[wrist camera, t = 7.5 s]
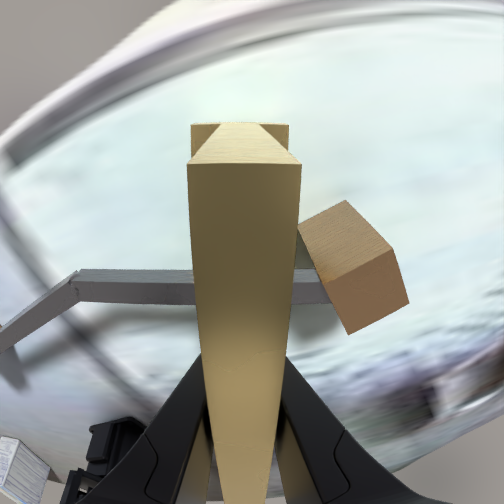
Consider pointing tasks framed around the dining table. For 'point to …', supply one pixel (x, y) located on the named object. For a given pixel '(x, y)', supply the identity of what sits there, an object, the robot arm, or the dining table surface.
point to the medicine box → (21, 472)
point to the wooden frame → (243, 288)
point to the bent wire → (304, 282)
